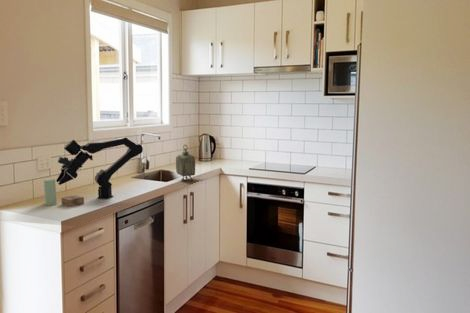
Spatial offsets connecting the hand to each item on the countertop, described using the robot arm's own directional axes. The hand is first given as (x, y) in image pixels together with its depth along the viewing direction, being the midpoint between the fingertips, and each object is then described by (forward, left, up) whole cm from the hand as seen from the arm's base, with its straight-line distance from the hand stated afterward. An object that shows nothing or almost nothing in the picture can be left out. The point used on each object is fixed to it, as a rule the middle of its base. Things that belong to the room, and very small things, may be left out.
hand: (57, 182), depth 211 cm
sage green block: (+3, +3, -11) cm, 12 cm away
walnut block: (-9, +1, -11) cm, 15 cm away
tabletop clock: (-42, -77, -11) cm, 89 cm away
